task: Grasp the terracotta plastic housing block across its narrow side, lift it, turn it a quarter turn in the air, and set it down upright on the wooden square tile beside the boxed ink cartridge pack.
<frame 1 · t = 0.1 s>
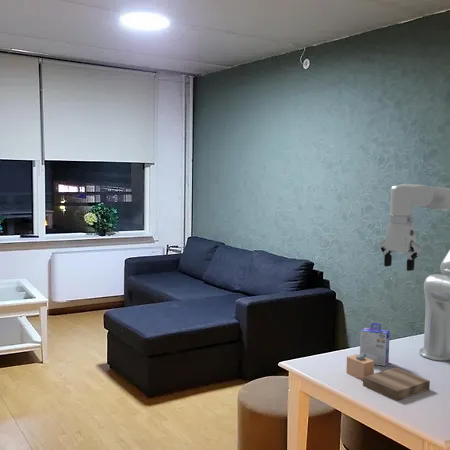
hand: (398, 268, 194), 37 cm above the table, tool pointing down, fingers open, 9 cm apart
wooden square tile: (395, 387, 180), on the table
ink cartridge box: (374, 362, 204), on the table
housing: (359, 375, 191), on the table
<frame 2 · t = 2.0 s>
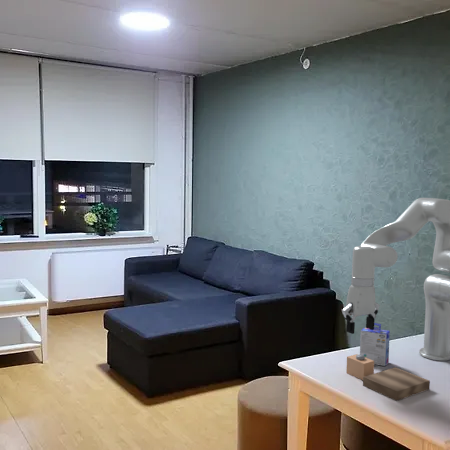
hand: (360, 330, 189), 16 cm above the table, tool pointing down, fingers open, 9 cm apart
nothing on the table moved.
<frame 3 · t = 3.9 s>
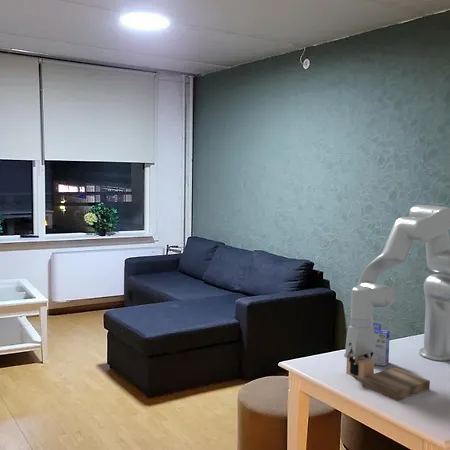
hand: (359, 372, 191), 1 cm above the table, tool pointing down, fingers closed on housing, 5 cm apart
housing: (359, 375, 191), on the table, touching gripper
everything else where it was.
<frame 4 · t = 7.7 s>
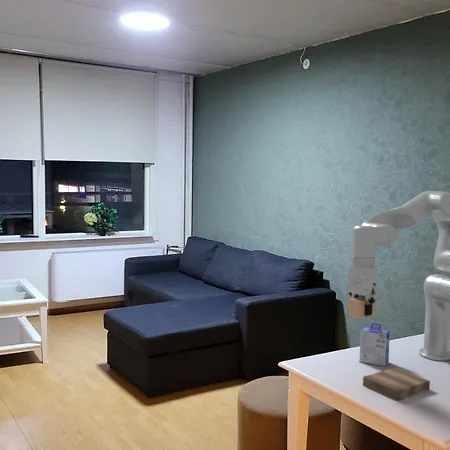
hand: (362, 312, 189), 22 cm above the table, tool pointing down, fingers closed on housing, 5 cm apart
housing: (361, 315, 189), point 21 cm above the table, touching gripper
everything else where it was.
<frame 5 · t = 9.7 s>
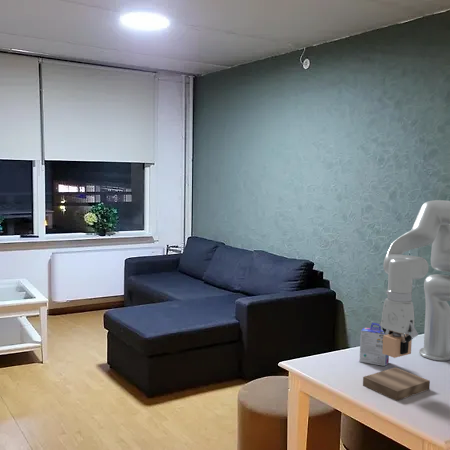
hand: (396, 350, 179), 13 cm above the table, tool pointing down, fingers closed on housing, 5 cm apart
housing: (396, 353, 179), point 12 cm above the table, touching gripper
everything else where it was.
when the fingers open (5 cm above the table, at t = 11.5 s): housing drops 1 cm, resting on wooden square tile.
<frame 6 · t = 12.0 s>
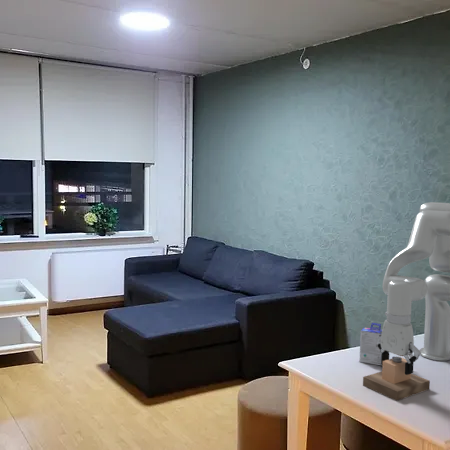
hand: (396, 369, 180), 6 cm above the table, tool pointing down, fingers open, 9 cm apart
housing: (396, 378, 180), point 3 cm above the table, touching wooden square tile
everything else where it was.
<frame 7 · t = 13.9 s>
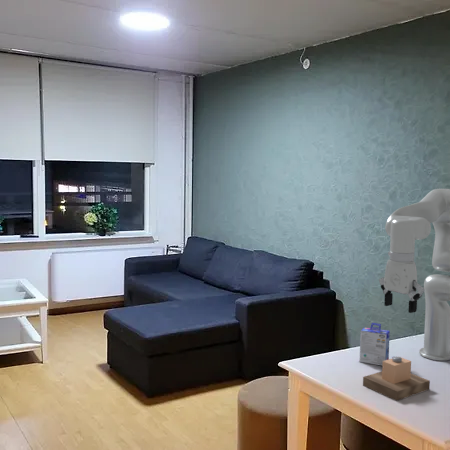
hand: (400, 308, 178), 26 cm above the table, tool pointing down, fingers open, 9 cm apart
nothing on the table moved.
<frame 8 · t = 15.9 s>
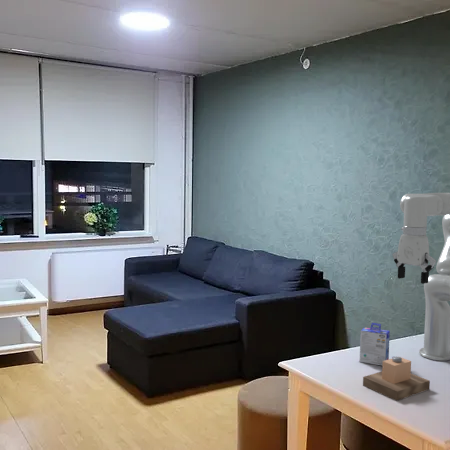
hand: (412, 280, 189), 33 cm above the table, tool pointing down, fingers open, 9 cm apart
nothing on the table moved.
at the end: housing inside the target area on the wooden square tile (0.0 cm from its centre), point 3.0 cm above the wooden square tile's base; housing tilted 0°; the gripper is holding nothing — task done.
